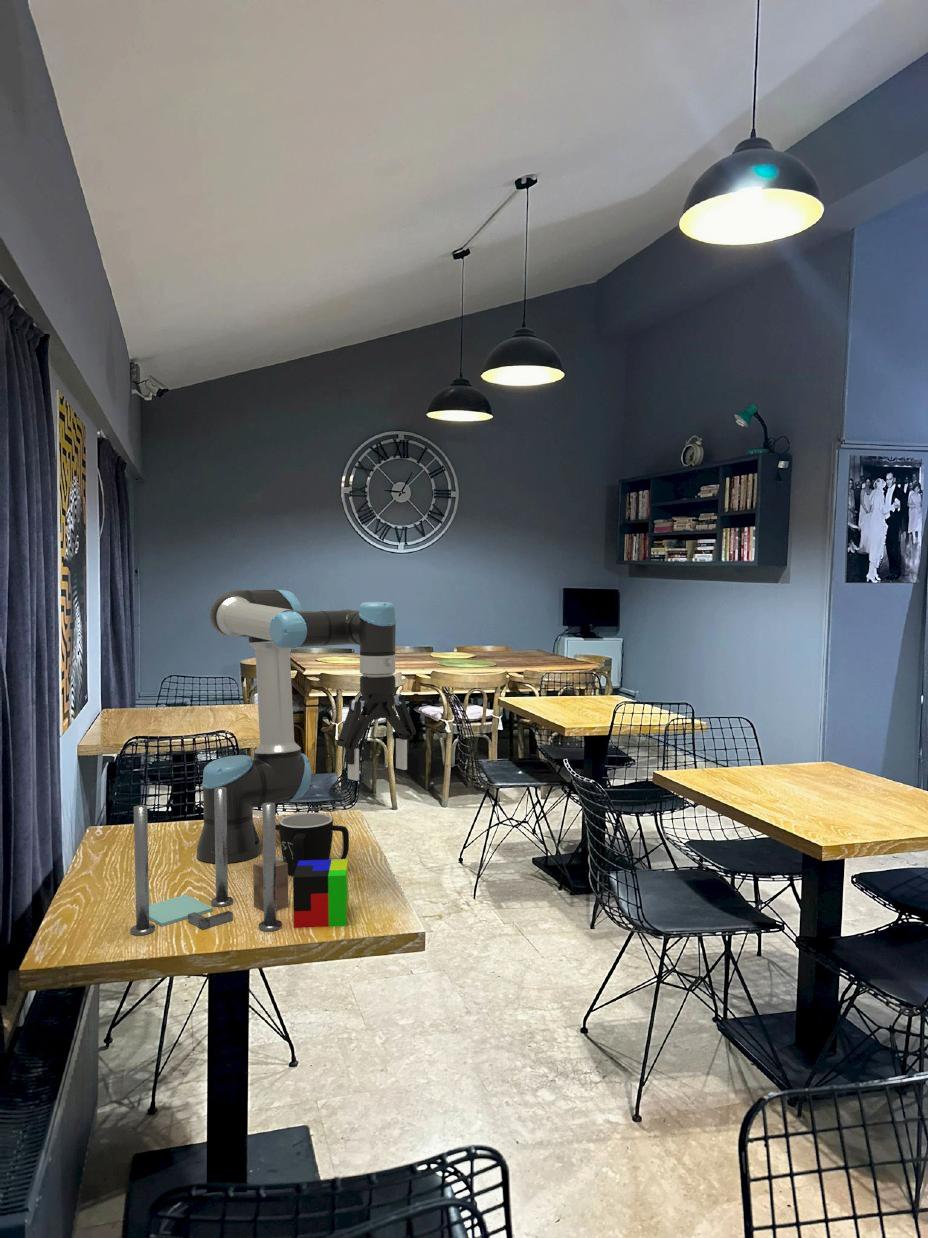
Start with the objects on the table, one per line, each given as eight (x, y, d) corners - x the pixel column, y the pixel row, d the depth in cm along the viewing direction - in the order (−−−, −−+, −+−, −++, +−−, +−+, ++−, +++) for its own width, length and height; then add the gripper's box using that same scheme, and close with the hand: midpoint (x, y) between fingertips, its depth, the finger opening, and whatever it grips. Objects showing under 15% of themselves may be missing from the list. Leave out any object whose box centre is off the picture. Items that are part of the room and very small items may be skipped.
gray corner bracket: (188, 921, 170) (187, 914, 170) (217, 912, 175) (217, 905, 175) (202, 929, 166) (202, 922, 166) (232, 920, 171) (232, 912, 171)
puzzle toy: (299, 909, 177) (298, 860, 177) (348, 907, 178) (348, 859, 177) (293, 928, 167) (293, 877, 167) (345, 926, 168) (345, 875, 167)
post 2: (207, 903, 180) (205, 788, 179) (226, 897, 183) (224, 785, 182) (218, 908, 177) (216, 792, 176) (237, 903, 180) (235, 788, 179)
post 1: (126, 931, 166) (124, 807, 165) (148, 924, 169) (146, 802, 168) (136, 937, 163) (134, 811, 162) (159, 930, 166) (156, 806, 165)
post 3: (254, 927, 167) (252, 804, 166) (273, 920, 171) (272, 800, 170) (266, 933, 164) (265, 808, 163) (286, 927, 167) (284, 804, 166)
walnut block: (253, 907, 178) (253, 863, 178) (274, 900, 182) (274, 858, 181) (267, 913, 174) (266, 869, 174) (288, 906, 178) (287, 863, 178)
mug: (259, 868, 202) (258, 817, 201) (321, 855, 211) (321, 806, 211) (289, 888, 189) (289, 834, 188) (354, 873, 198) (354, 821, 198)
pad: (136, 911, 176) (135, 908, 176) (186, 897, 184) (186, 894, 183) (161, 926, 168) (161, 923, 168) (212, 911, 176) (212, 908, 176)
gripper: (343, 681, 172) (343, 787, 173) (431, 671, 190) (431, 767, 191) (319, 678, 177) (320, 781, 178) (408, 669, 195) (408, 762, 197)
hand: (378, 774), depth 185 cm, fingers open, 13 cm apart
